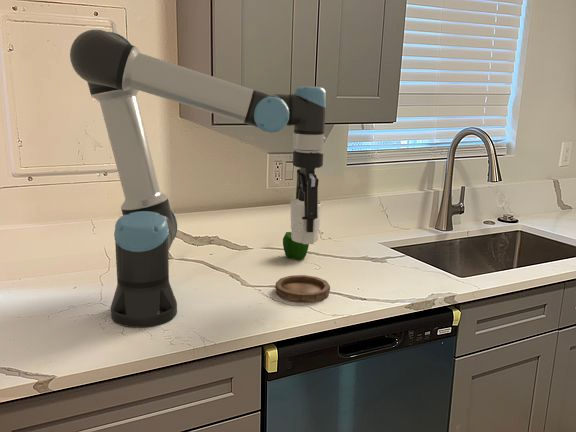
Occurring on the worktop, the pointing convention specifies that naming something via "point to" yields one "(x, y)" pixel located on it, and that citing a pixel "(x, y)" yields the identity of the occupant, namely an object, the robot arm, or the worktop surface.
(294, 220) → the white cup
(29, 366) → the worktop surface
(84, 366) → the worktop surface
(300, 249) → the bell pepper
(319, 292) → the ring tray
